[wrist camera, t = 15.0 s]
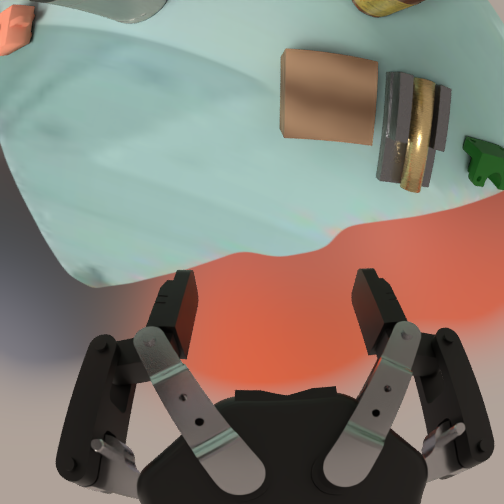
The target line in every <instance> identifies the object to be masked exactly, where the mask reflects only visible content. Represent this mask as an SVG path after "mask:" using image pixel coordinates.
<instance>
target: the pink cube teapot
mask: <svg viewBox="0 0 504 504" xmlns="http://www.w3.org/2000/svg"><path fill="white" fill-rule="evenodd" d="M34 9H35V6H26V5H11V6H10V7H9V8H7V9H6V10H4V11H3V12H2V13H0V56H4V55H9V54H10V53H12V52H14V51H16V50H18V49H19V48H21V47H23V46H25V45H27V44H29V42H30V39H31V37H32V33H31V26H32V21H33V20H34V18H35V14H34Z"/></svg>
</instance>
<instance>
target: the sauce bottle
mask: <svg viewBox="0 0 504 504" xmlns="http://www.w3.org/2000/svg"><path fill="white" fill-rule="evenodd" d="M422 1H425V0H352V2H353V3H354V4H355V6H356V7H357V8H358V9H359V10H360V11H361V12H363V13H365V14H367V15H369V16H373V17H382V16H387V15H390V14H392V13H395V12H397V11H400V10H402V9H405V8H408V7H410V6H413V5H416V4H419V3H421V2H422Z"/></svg>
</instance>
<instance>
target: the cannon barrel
mask: <svg viewBox="0 0 504 504" xmlns="http://www.w3.org/2000/svg"><path fill="white" fill-rule="evenodd" d="M434 97H435V83H434V82H432V81H429V80H426V79H422V78H416V77H414V81H413V98H412V110H411V120H410V129H409V137H408V144H407V148H406V154H405V161H404V166H403V172H402V178H401V183H400V187H401V188H403V189H405V190H407V191H410V192H415V193H419V192H420V190H421V186H422V181H423V176H424V171H425V166H426V160H427V155H428V149H429V142H430V135H431V127H432V119H433V109H434Z"/></svg>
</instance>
